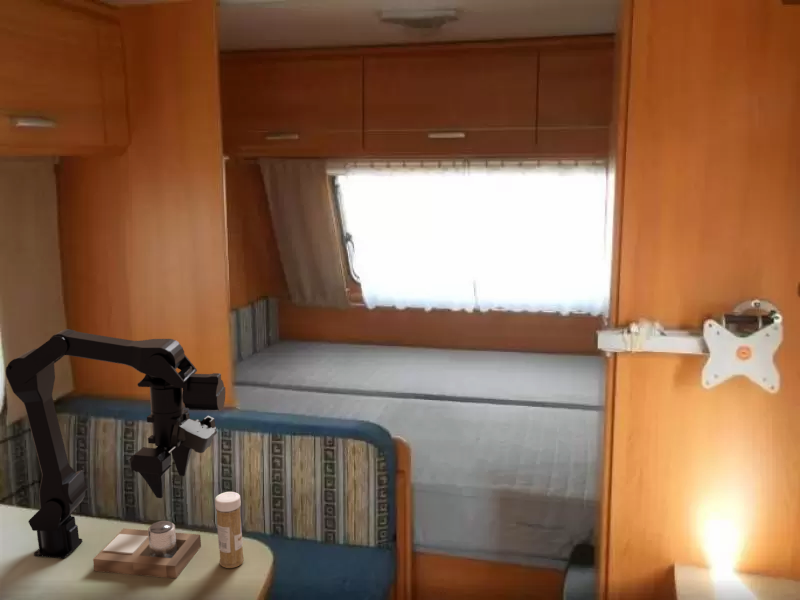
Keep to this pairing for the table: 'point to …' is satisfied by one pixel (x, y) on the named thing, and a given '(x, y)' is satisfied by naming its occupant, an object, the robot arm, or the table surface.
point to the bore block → (145, 555)
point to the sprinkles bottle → (229, 529)
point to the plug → (162, 539)
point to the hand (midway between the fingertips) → (171, 486)
